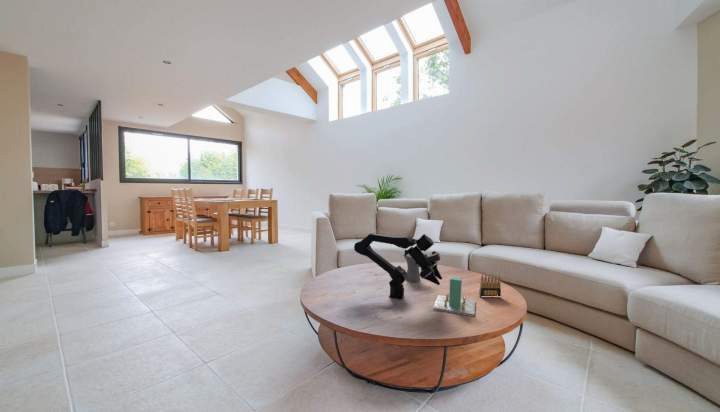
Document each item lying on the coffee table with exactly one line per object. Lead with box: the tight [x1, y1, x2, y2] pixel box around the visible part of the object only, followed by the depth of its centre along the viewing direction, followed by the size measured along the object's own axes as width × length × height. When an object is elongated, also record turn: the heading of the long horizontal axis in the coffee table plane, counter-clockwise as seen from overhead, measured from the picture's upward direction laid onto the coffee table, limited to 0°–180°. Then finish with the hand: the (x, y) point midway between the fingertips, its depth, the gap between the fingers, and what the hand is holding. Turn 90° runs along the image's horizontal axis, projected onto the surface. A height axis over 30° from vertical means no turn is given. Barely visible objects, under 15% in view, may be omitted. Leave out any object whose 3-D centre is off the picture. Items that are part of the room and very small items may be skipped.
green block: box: [448, 276, 463, 306], centre depth 145 cm, size 5×5×12 cm
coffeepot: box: [402, 254, 421, 283], centre depth 183 cm, size 15×9×18 cm, turn 62°
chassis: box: [432, 293, 476, 317], centre depth 145 cm, size 18×18×4 cm
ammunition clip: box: [478, 274, 502, 297], centre depth 157 cm, size 11×2×12 cm, turn 90°
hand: (440, 281), depth 147 cm, fingers open, 9 cm apart
